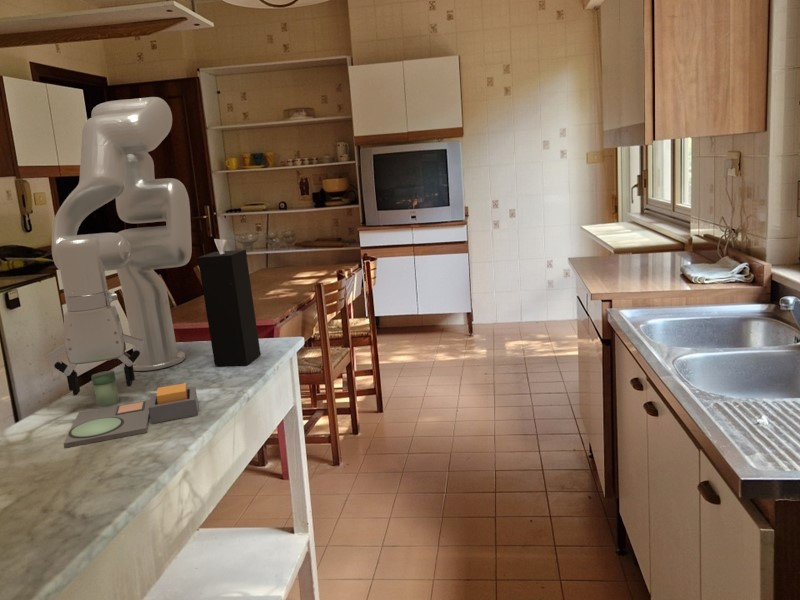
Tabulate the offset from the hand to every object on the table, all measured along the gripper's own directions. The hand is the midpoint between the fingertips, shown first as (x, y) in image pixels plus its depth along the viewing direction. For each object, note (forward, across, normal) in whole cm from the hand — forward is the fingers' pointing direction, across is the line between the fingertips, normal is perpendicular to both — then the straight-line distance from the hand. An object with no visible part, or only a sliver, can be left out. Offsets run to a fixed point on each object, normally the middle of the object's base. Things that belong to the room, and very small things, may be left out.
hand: (103, 389), depth 133 cm
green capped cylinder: (+3, 0, -1) cm, 3 cm away
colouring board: (+4, -2, +12) cm, 13 cm away
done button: (+1, -13, +12) cm, 18 cm away
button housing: (+3, -13, +12) cm, 18 cm away
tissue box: (+3, -26, -16) cm, 31 cm away
